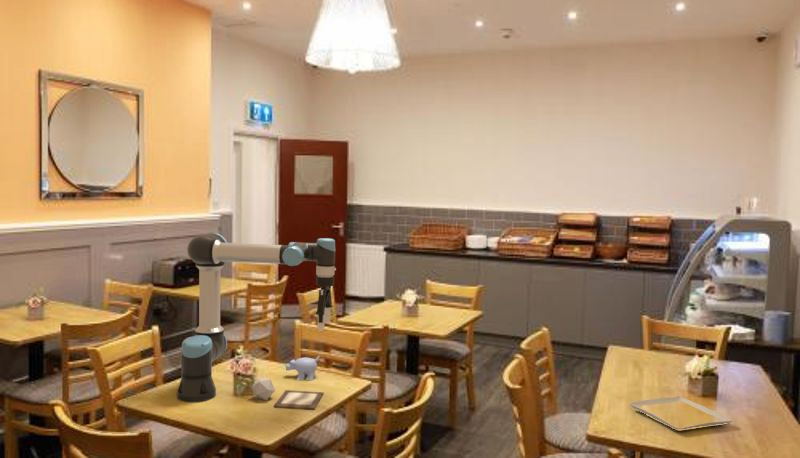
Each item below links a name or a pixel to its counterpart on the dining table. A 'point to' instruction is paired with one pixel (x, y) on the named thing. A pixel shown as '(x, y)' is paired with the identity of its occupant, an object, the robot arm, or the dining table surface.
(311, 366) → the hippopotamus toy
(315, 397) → the picture frame
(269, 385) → the die
